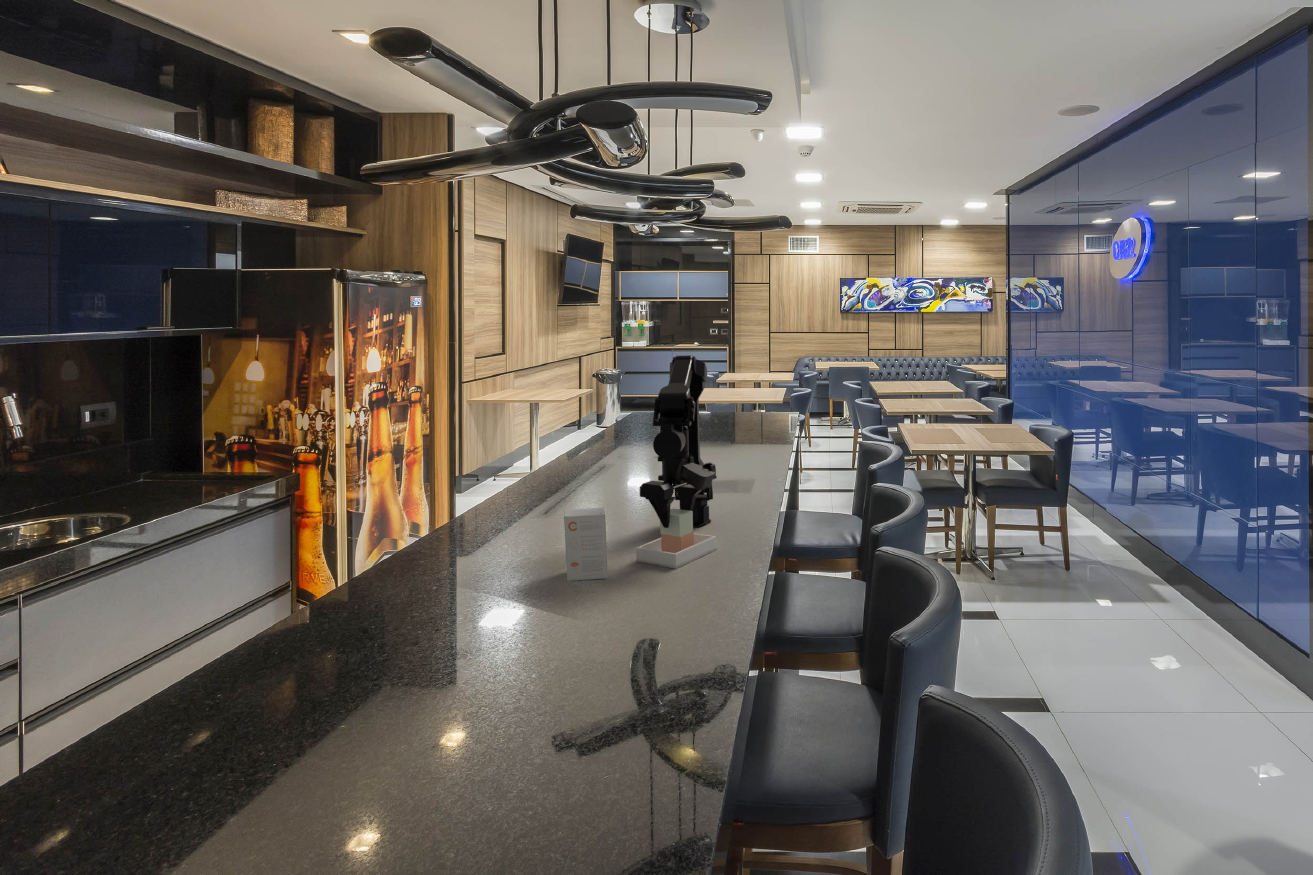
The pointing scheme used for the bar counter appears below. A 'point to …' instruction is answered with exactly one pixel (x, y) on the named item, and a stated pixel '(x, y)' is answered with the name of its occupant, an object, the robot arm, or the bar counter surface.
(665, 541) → the brick
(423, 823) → the bar counter surface
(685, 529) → the pale green block
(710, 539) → the tote
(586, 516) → the small box
